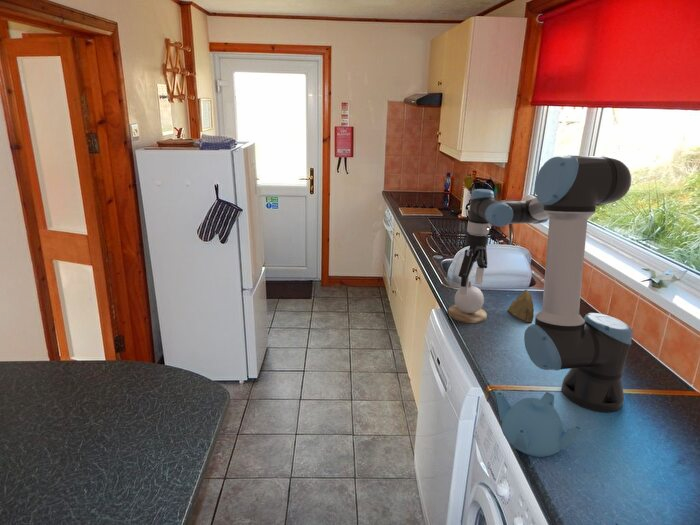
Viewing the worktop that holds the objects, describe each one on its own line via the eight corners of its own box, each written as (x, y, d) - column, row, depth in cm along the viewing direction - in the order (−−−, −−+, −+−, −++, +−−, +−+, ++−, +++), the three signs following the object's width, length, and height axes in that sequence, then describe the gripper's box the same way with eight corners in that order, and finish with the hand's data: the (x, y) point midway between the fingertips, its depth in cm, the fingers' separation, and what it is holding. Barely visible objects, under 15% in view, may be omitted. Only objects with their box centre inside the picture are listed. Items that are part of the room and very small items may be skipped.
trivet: (477, 326, 165) (477, 323, 165) (441, 315, 173) (442, 312, 173) (492, 314, 176) (492, 310, 175) (458, 303, 184) (458, 300, 183)
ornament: (448, 308, 176) (451, 279, 172) (468, 304, 180) (472, 275, 176) (465, 319, 167) (469, 289, 163) (487, 314, 172) (491, 284, 168)
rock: (541, 319, 167) (538, 305, 176) (530, 301, 165) (527, 288, 174) (514, 331, 172) (512, 316, 181) (502, 313, 170) (501, 299, 179)
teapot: (578, 463, 104) (588, 423, 100) (513, 464, 103) (521, 424, 99) (547, 419, 118) (554, 383, 114) (489, 419, 117) (495, 383, 113)
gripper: (473, 242, 152) (466, 301, 159) (500, 228, 171) (493, 282, 178) (452, 238, 156) (446, 296, 163) (481, 225, 175) (475, 278, 182)
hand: (471, 289), depth 170 cm, fingers open, 13 cm apart
